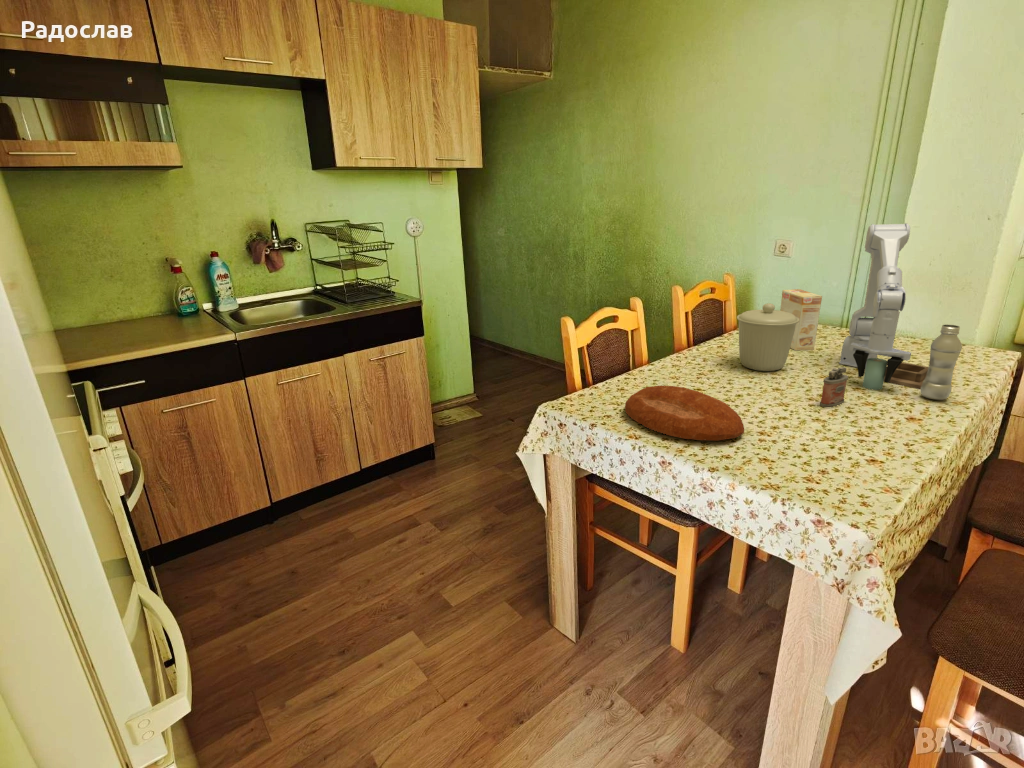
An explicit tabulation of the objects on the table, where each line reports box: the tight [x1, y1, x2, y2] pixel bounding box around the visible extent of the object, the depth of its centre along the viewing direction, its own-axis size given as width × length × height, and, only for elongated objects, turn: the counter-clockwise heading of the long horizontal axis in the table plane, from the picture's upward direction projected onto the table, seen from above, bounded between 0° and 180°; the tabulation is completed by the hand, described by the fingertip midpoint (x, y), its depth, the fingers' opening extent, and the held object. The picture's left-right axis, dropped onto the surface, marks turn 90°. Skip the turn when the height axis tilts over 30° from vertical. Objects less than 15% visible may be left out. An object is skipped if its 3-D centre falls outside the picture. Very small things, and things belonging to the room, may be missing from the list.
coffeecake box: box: [779, 288, 823, 351], centre depth 191 cm, size 15×7×20 cm, turn 179°
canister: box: [736, 302, 799, 372], centre depth 169 cm, size 18×18×21 cm
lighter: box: [819, 366, 849, 408], centre depth 139 cm, size 8×3×10 cm, turn 117°
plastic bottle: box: [920, 324, 963, 401], centre depth 138 cm, size 6×7×20 cm
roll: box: [862, 357, 888, 391], centre depth 150 cm, size 5×5×8 cm
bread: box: [624, 385, 745, 442], centre depth 133 cm, size 23×32×9 cm
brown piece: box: [884, 361, 929, 390], centre depth 155 cm, size 14×14×4 cm
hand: (873, 378), depth 150 cm, fingers open, 6 cm apart
